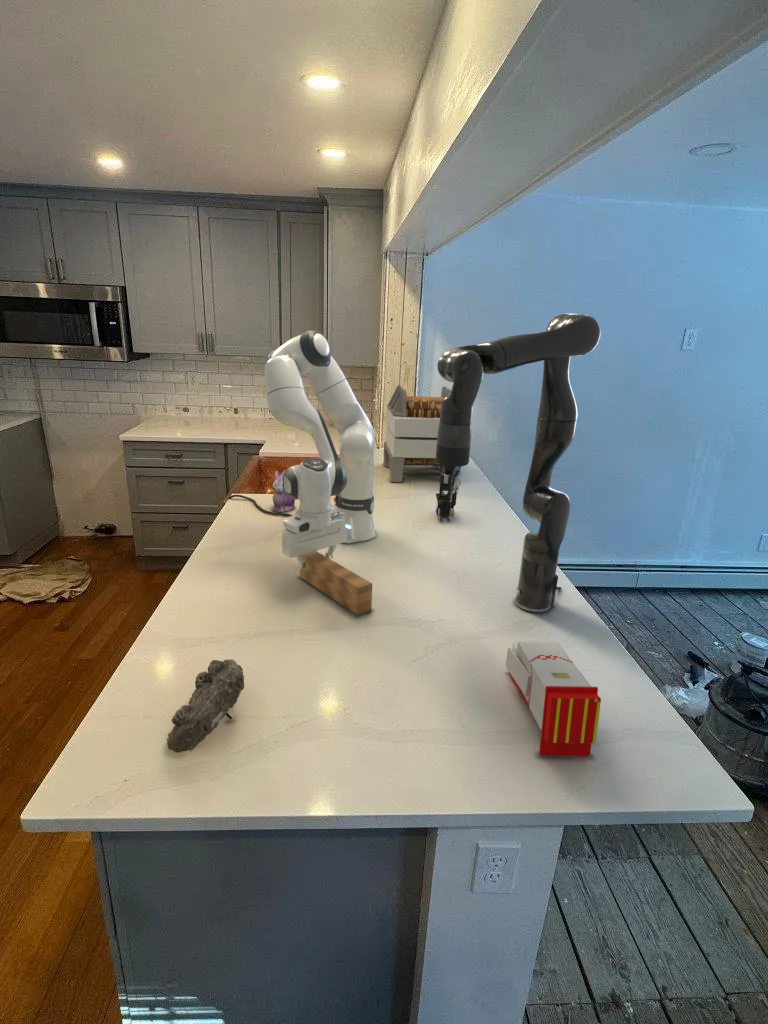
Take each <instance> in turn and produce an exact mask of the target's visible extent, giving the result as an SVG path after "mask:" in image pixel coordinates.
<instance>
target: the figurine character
mask: <svg viewBox="0 0 768 1024" xmlns="http://www.w3.org/2000/svg"><path fill="white" fill-rule="evenodd" d="M443 496H447V493H444V495H443ZM438 497H439V492H438V493H437V492H436V493H435V498H436V505H435V513H436V516H437V518H439V520H440V522H443V519H444V520H445V519H446V520H447V522H450V521H451V519H450V518H454V517H455V506H451V508H450V516H449V517H448V518H445V517H441V516H440V505H441V501H439V499H438Z"/></svg>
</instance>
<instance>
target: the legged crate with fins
mask: <svg viewBox="0 0 768 1024" xmlns="http://www.w3.org/2000/svg"><path fill="white" fill-rule="evenodd" d="M451 391H452V389H451V388H447V386H442V387H441V392H440V393H441V394H440V396H415V395H414V396H413V395H412V396H411V395H407V394H408V393H407V390H406V389H404V388H403V387H402V385H399V384H398V385H397V386H396V388H395V390H394V392H393V394H392V395H391V398H390V400H389V402H388V404H387V405H386V413H385V414H386V415H385V423H386V428H385V438H384V442H383V466H384V467H388V468H389V475H388V476H389V477H388V478H389V480H390V482H391V483H402V482H403V475H404V469H405V466H406V467H407V466H411V467H412V466H413V467H415V466H416V467H417V466H418V467H436V468H437V470H438V469H439V473H441V472H443V470H444V469H445V466H444V465H440V464H438V463H437V462H436V447H437V434H438V428H439V422H440V411H441V401H442V399H443V397H444V396H445V395H448V394H451Z"/></svg>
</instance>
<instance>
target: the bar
mask: <svg viewBox="0 0 768 1024" xmlns="http://www.w3.org/2000/svg"><path fill="white" fill-rule="evenodd" d="M301 560H303V561H304V562H306V565H305V566H306V567H305V568H302V569H300V568H299V578H301V579H302V580H304V581H305V582H306V583H308V584H310V586H312V587H314V588H316V589H317V590H318V591H320V592H321V593H323V594H324V595H326V596H328V597H329V598H331V599H332V600H334V601H335V602H337V603H338V604H340V605H342V606H343V607H344V608H345V609H348V610H349V611H350V612H351V613H353V614H355V615H357V616H361V615H363V614H366V613H368V612H371V611H372V605H373V603H372V602H373V583H372V582H370V581H369V580H367V579H365V578H363V577H362V576H360V575H358V574H357V573H355V572H353V571H352V570H350V569H348V568H347V567H344V566H343V565H341V564H340V563H338V562H336V561H334V560H333V559H329V558H327V557H326V556H325V554H322V553H321V552H319V551H318V550H317V551H313V552H310V553H307V554H303V555H302V558H301Z"/></svg>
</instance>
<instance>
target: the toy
mask: <svg viewBox="0 0 768 1024" xmlns="http://www.w3.org/2000/svg"><path fill="white" fill-rule="evenodd" d="M511 646H512V647H508V648H507V653H506V658H505V659H506V660H505V668H506V669H507V671H508V675H509V676H510V677H511V679H512V681H513V682H514V684H515V686H516V688H517V689H518V691H519V693H520V694H521V696H522V698H523V700H524V702H525V703H526V705H527V706H528V708H529V710H530V712H531V715H532V716H533V718H534V720H535V722H536V723H537V724H536V725H537V726H538V727H539V730H540V731H541V733H540V739H539V740H540V741H539V749H538V751H539V752H538V754H539V756H543V757H548V756H550V757H551V756H552V757H553V756H554V757H568V756H569V757H591V751H592V744H596V743H597V734H598V726H599V717H600V710H601V702H602V698H601V697H600V696H599V694H598V693H599V688H598V686H592V684H590V682H589V681H588V680H587V678H586V677H585V676H584V675H583V673H582V672H581V671H580V669H579V668H578V667H577V665H576V664H575V663H574V661H573V660H572V659H571V658H570V656H569V655H568V654H567V652H566V651H565V649H564V647H562V645H561V644H560V643H559V642H553V641H551V642H549V641H548V642H547V641H546V642H545V641H517V642H512V645H511Z"/></svg>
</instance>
